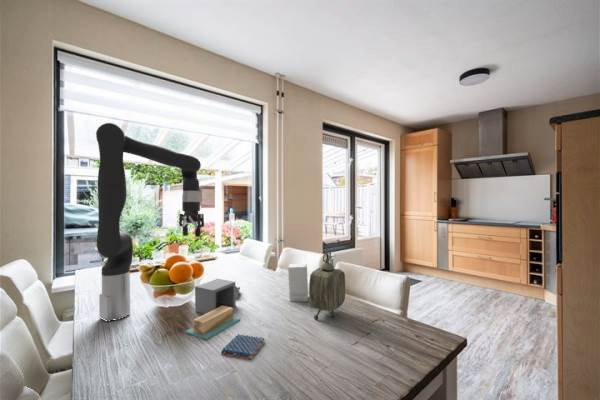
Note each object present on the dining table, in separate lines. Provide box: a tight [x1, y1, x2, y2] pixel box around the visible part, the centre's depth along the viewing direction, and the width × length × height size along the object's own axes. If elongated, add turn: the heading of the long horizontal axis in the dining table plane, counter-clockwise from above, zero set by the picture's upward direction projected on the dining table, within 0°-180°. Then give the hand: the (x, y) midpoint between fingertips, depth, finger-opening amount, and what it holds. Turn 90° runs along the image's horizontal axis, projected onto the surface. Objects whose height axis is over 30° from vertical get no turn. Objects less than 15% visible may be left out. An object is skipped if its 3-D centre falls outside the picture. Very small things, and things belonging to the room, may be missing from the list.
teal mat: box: [185, 316, 241, 340], centre depth 97 cm, size 16×10×1 cm, turn 151°
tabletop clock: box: [308, 250, 346, 320], centre depth 104 cm, size 14×9×25 cm, turn 149°
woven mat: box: [220, 333, 266, 360], centre depth 82 cm, size 10×11×2 cm
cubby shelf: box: [194, 278, 237, 315], centre depth 113 cm, size 12×10×10 cm
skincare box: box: [287, 263, 309, 302], centre depth 122 cm, size 8×7×16 cm
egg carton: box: [235, 285, 241, 299], centre depth 128 cm, size 11×8×4 cm
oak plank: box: [192, 305, 234, 335], centre depth 97 cm, size 5×14×4 cm, turn 152°
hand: (191, 236), depth 124 cm, fingers open, 8 cm apart
